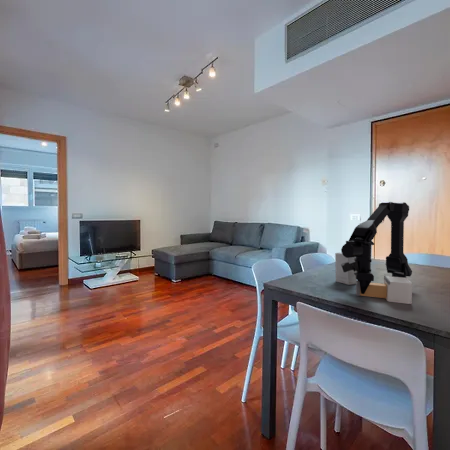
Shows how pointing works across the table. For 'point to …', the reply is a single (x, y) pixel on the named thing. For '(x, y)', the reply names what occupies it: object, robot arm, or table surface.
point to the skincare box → (340, 275)
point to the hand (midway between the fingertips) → (362, 292)
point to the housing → (398, 289)
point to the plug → (373, 290)
